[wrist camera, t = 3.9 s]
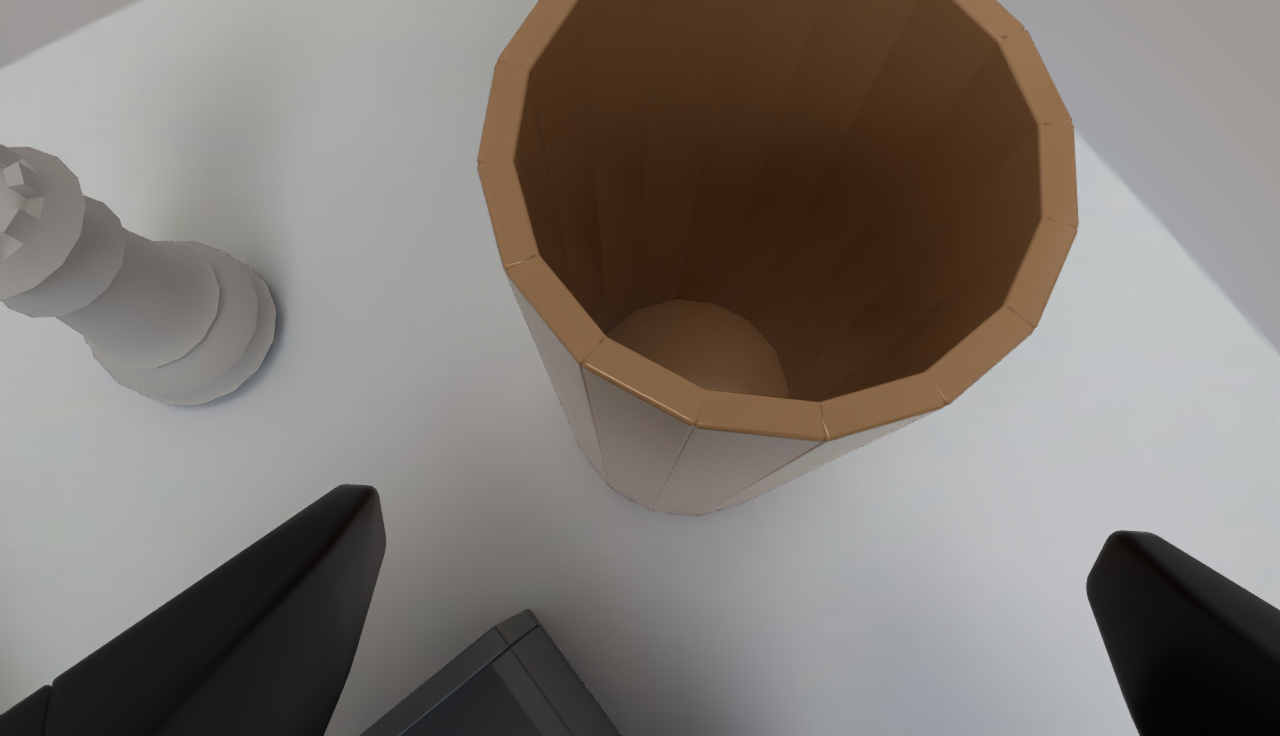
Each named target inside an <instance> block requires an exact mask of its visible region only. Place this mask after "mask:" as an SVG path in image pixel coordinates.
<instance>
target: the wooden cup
mask: <svg viewBox="0 0 1280 736" xmlns="http://www.w3.org/2000/svg"><path fill="white" fill-rule="evenodd" d="M1071 123H1072V119H1071V117H1070V115H1069V113H1068V111H1067V109H1066V107H1065V105H1064V103H1063V101H1062V99H1061V97H1060V95H1059V93H1058V91H1057V88H1056V86H1055V84H1054V82H1053V81H1052V78H1051V77H1050V74H1049V72H1048V71H1047V68H1046V67H1045V64H1044V63H1043V60H1042V59H1041V57H1040V54H1039V53H1038V51H1037V48H1036V46H1035V44H1034V42H1033V41H1032V38H1031V36H1030V34H1029V33H1028V31H1027V30H1024V26H1023V25H1022V24H1021V23H1020V22H1019V21H1018V20H1017V19H1016V18H1015V17H1014V16H1013V15H1011V14H1010V13H1009V12H1008V11H1007V10H1006V9H1005V8H1004V7H1003V6H1002V5H1001V4H1000V3H999V2H997V1H996V0H539V1H538V2H537V4H536V5H535V7H534V8H533V9H532V11H531V12H530V14H529V15H528V17H527V18H526V19H525V21H524V22H523V24H522V25H521V26H520V28H519V29H518V31H517V32H516V33H515V35H514V36H513V38H512V39H511V41H510V42H509V43H508V45H507V46H506V48H505V49H504V50H503V52H502V53H501V55H500V56H499V57H498V61H497V63H496V65H495V68H494V73H493V79H492V84H491V89H490V95H489V100H488V105H487V110H486V116H485V121H484V126H483V132H482V137H481V142H480V147H479V153H478V158H477V162H478V167H477V170H478V173H479V177H480V181H481V185H482V189H483V193H484V197H485V200H486V204H487V208H488V212H489V216H490V220H491V223H492V227H493V231H494V235H495V239H496V243H497V247H498V250H499V254H500V258H501V262H502V266H503V269H504V271H505V274H506V276H507V278H508V281H509V283H510V285H511V288H512V290H513V292H514V295H515V297H516V299H517V302H518V304H519V306H520V309H521V311H522V314H523V316H524V318H525V321H526V323H527V325H528V328H529V330H530V332H531V335H532V337H533V339H534V342H535V344H536V346H537V349H538V351H539V353H540V356H541V358H542V361H543V363H544V365H545V368H546V370H547V372H548V375H549V377H550V379H551V382H552V384H553V386H554V389H555V391H556V393H557V396H558V398H559V400H560V403H561V405H562V408H563V410H564V412H565V415H566V417H567V419H568V422H569V424H570V426H571V429H572V431H573V433H574V436H575V438H576V440H577V443H578V445H579V447H580V449H581V451H582V453H583V454H584V455H585V456H586V458H587V459H588V460H589V462H590V463H591V464H592V466H593V467H594V469H595V470H596V471H597V472H598V474H599V475H600V476H601V477H602V478H603V480H604V481H605V482H606V483H607V485H608V486H610V487H611V488H612V489H614V490H616V491H617V492H619V493H620V494H622V495H624V496H625V497H627V498H628V499H630V500H632V501H634V502H636V503H638V504H640V505H642V506H644V507H646V508H648V509H650V510H651V509H652V510H653V511H660V512H666V513H671V514H684V515H696V516H698V515H704V514H707V513H710V512H714V511H718V510H722V509H724V508H727V507H731V506H734V505H737V504H741V503H744V502H746V501H748V500H750V499H752V498H754V497H756V496H758V495H761V494H763V493H765V492H767V491H769V490H771V489H773V488H775V487H778V486H780V485H782V484H784V483H786V482H788V481H790V480H792V479H794V478H797V477H799V476H801V475H803V474H805V473H807V472H809V471H811V470H813V469H816V468H818V467H820V466H822V465H824V464H826V463H828V462H830V461H832V460H835V459H837V458H839V457H841V456H843V455H845V454H847V453H849V452H852V451H854V450H856V449H858V448H860V447H862V446H864V445H866V444H868V443H871V442H873V441H875V440H877V439H879V438H881V437H883V436H885V435H887V434H890V433H892V432H894V431H896V430H898V429H900V428H902V427H904V426H906V425H909V424H911V423H913V422H915V421H917V420H919V419H921V418H923V417H925V416H928V415H930V414H932V413H934V412H936V411H938V410H940V409H942V408H943V407H945V406H948V405H950V404H951V403H952V402H953V401H954V400H956V399H957V398H958V397H959V396H960V395H961V394H963V393H964V392H965V391H966V390H967V389H968V388H969V387H971V386H972V385H973V384H974V383H975V382H976V381H978V380H979V379H980V378H981V377H982V376H983V375H985V374H986V373H987V372H988V371H989V370H990V369H992V368H993V367H994V366H995V365H996V364H997V363H998V362H1000V361H1001V360H1002V359H1003V358H1004V357H1005V356H1007V355H1008V354H1009V353H1010V352H1011V351H1012V350H1014V349H1015V348H1016V347H1017V346H1018V345H1019V344H1020V343H1022V342H1023V341H1024V340H1025V339H1026V338H1027V337H1029V336H1030V335H1031V334H1032V332H1033V330H1034V329H1035V328H1036V327H1037V326H1038V323H1039V321H1040V319H1041V316H1042V314H1043V312H1044V309H1045V307H1046V304H1047V302H1048V300H1049V297H1050V295H1051V293H1052V290H1053V288H1054V286H1055V283H1056V281H1057V279H1058V276H1059V274H1060V272H1061V269H1062V267H1063V265H1064V262H1065V260H1066V258H1067V255H1068V253H1069V250H1070V248H1071V246H1072V243H1073V241H1074V239H1075V236H1076V234H1077V227H1078V224H1079V223H1078V203H1077V183H1076V163H1075V143H1074V126H1073V124H1071Z"/></svg>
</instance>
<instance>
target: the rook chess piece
mask: <svg viewBox="0 0 1280 736" xmlns="http://www.w3.org/2000/svg"><path fill="white" fill-rule="evenodd" d="M0 301H2V302H3V303H4V304H5V305H6V306H7V307H8V308H9V309H12V310H14V311H17V312H19V313H22V314H25V315H27V316H30V317H56V318H57V319H59V320H60V321H62V322H63V323H65V324H66V325H68V326H70V327H71V328H73V329H74V330H76V331H77V332H79V333H81V334H82V335H84V339H85V342H86V343H87V344H88V345H89V346H90V347H91V349H92V352H93V356H94V358H95V359H96V360H97V361H98V362H99V363H100V364H101V365H102V366H103V367H104V369H105V370H106V371H107V372H108V373H109V374H110V375H111V376H112V377H113V378H114V379H115V380H116V381H117V382H118V383H119V384H120V385H122V386H125V387H127V388H130V389H133V390H135V391H138V392H139V393H140V394H141V395H143V396H146V397H149V398H151V399H154V400H156V401H159V402H162V403H164V404H167V405H169V406H170V405H201V404H204V403H207V402H209V401H212V400H214V399H217V398H219V397H221V396H224V395H226V394H229V393H231V392H234V391H235V390H236V389H237V388H238V387H239V386H240V385H241V384H242V383H244V382H245V381H246V380H247V379H248V378H249V377H250V376H251V375H252V374H254V373H255V372H256V371H257V370H258V369H259V367H260V365H261V363H262V362H263V360H264V358H265V356H266V354H267V352H268V350H269V348H270V346H271V344H272V343H273V341H274V331H275V321H276V308H275V305H274V302H273V300H272V297H271V294H270V291H269V288H268V285H267V284H266V283H265V282H264V281H263V280H262V279H261V278H260V277H259V276H258V275H257V274H256V273H255V272H254V271H253V270H252V269H251V268H250V267H249V266H248V265H247V264H244V263H242V262H239V261H236V260H235V259H234V258H233V257H232V256H231V255H230V254H228V253H225V252H222V251H220V250H217V249H214V248H212V247H209V246H206V245H203V244H200V243H196V242H192V241H189V242H173V241H158V242H153V241H151V240H148V239H146V238H144V237H141V236H139V235H137V234H135V233H132V232H130V231H128V230H127V229H125V228H123V227H122V226H121V223H120V219H119V218H118V217H117V216H116V215H115V214H114V213H113V212H112V211H111V210H110V209H109V208H108V207H107V206H106V205H105V204H104V203H103V202H100V201H97V200H95V199H92V198H89V197H87V196H84V195H82V191H81V188H80V184H79V181H78V178H77V177H76V176H75V175H74V174H73V172H72V171H71V170H70V169H69V168H68V167H67V166H66V165H65V164H64V163H63V162H62V161H61V160H60V159H59V158H58V157H55V156H53V155H50V154H47V153H44V152H42V151H39V150H36V149H33V148H31V147H5V146H4V145H2V144H0Z"/></svg>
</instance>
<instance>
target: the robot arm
mask: <svg viewBox="0 0 1280 736" xmlns="http://www.w3.org/2000/svg"><path fill="white" fill-rule="evenodd" d="M385 547H386V534H385V528H384V522H383V516H382V510H381V504H380V499H379V494H378V492H377V490H376V489H375V488H374V487H372V486H368V485H351V484H344V485H340V486H338V487H336V488H334V489H333V490H331V491H330V492H329V493H327V494H326V495H324V496H323V497H321V498H320V499H318V500H317V501H315V502H314V503H312V504H311V505H309V506H308V507H306V508H305V509H304V510H302V511H301V512H299V513H298V514H296V515H295V516H293V517H292V518H290V519H289V520H287V521H286V522H284V523H283V524H281V525H280V526H279V527H277V528H276V529H274V530H273V531H271V532H270V533H268V534H267V535H265V536H264V537H262V538H261V539H259V540H258V541H256V542H255V543H254V544H252V545H251V546H249V547H248V548H246V549H245V550H243V551H242V552H240V553H239V554H237V555H236V556H234V557H233V558H231V559H230V560H229V561H227V562H226V563H224V564H223V565H221V566H220V567H218V568H217V569H215V570H214V571H212V572H211V573H209V574H208V575H206V576H205V577H204V578H202V579H201V580H199V581H198V582H196V583H195V584H193V585H192V586H190V587H189V588H187V589H186V590H184V591H183V592H181V593H180V594H179V595H177V596H176V597H174V598H173V599H171V600H170V601H168V602H167V603H165V604H164V605H162V606H161V607H159V608H158V609H157V610H155V611H154V612H152V613H151V614H149V615H148V616H146V617H145V618H143V619H142V620H140V621H139V622H137V623H136V624H134V625H133V626H132V627H130V628H129V629H127V630H126V631H124V632H123V633H121V634H120V635H118V636H117V637H115V638H114V639H112V640H111V641H109V642H108V643H107V644H105V645H104V646H102V647H101V648H99V649H98V650H96V651H95V652H93V653H92V654H90V655H89V656H87V657H86V658H84V659H83V660H82V661H80V662H79V663H77V664H76V665H74V666H73V667H71V668H70V669H68V670H67V671H65V672H64V673H62V674H61V675H59V676H58V677H57V678H55V679H54V681H53V683H52V686H50V685H45V686H43V687H41V688H40V689H38V690H37V691H36V692H34V693H33V694H31V695H30V696H28V697H27V698H25V699H24V700H22V701H21V702H19V703H18V704H16V705H15V706H13V707H12V708H11V709H9V710H8V711H6V712H5V713H3V714H2V715H0V736H324V733H325V731H326V729H327V726H328V724H329V721H330V719H331V717H332V714H333V712H334V709H335V707H336V705H337V702H338V700H339V697H340V695H341V693H342V690H343V688H344V685H345V682H346V680H347V677H348V675H349V672H350V669H351V666H352V663H353V660H354V657H355V653H356V650H357V647H358V643H359V640H360V636H361V633H362V630H363V626H364V623H365V619H366V616H367V612H368V609H369V605H370V602H371V599H372V595H373V592H374V588H375V585H376V581H377V578H378V574H379V571H380V568H381V564H382V561H383V557H384V553H385ZM1086 590H1087V596H1088V600H1089V603H1090V605H1091V608H1092V611H1093V614H1094V616H1095V619H1096V622H1097V625H1098V627H1099V630H1100V633H1101V636H1102V639H1103V641H1104V644H1105V647H1106V650H1107V652H1108V655H1109V658H1110V661H1111V664H1112V666H1113V669H1114V672H1115V675H1116V677H1117V680H1118V683H1119V686H1120V688H1121V691H1122V694H1123V697H1124V699H1125V702H1126V704H1127V707H1128V709H1129V712H1130V714H1131V717H1132V719H1133V721H1134V724H1135V726H1136V728H1137V730H1138V733H1139V735H1140V736H1280V610H1278V609H1277V608H1275V607H1274V606H1272V605H1270V604H1269V603H1267V602H1265V601H1264V600H1262V599H1260V598H1259V597H1257V596H1255V595H1254V594H1252V593H1251V592H1249V591H1247V590H1246V589H1244V588H1242V587H1241V586H1239V585H1237V584H1236V583H1234V582H1233V581H1231V580H1229V579H1228V578H1226V577H1224V576H1223V575H1221V574H1219V573H1218V572H1216V571H1214V570H1213V569H1211V568H1210V567H1208V566H1206V565H1205V564H1203V563H1201V562H1200V561H1198V560H1196V559H1195V558H1193V557H1192V556H1190V555H1188V554H1187V553H1185V552H1183V551H1182V550H1180V549H1178V548H1177V547H1175V546H1174V545H1172V544H1170V543H1169V542H1167V541H1165V540H1164V539H1162V538H1160V537H1159V536H1157V535H1155V534H1152V533H1149V532H1140V531H1123V530H1121V531H1116V532H1114V533H1113V534H1111V535H1110V536H1109V537H1108V539H1107V540H1106V542H1105V544H1104V546H1103V548H1102V550H1101V552H1100V554H1099V556H1098V558H1097V560H1096V562H1095V563H1094V565H1093V567H1092V569H1091V571H1090V573H1089V575H1088V578H1087V583H1086Z"/></svg>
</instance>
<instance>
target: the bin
mask: <svg viewBox="0 0 1280 736" xmlns="http://www.w3.org/2000/svg"><path fill="white" fill-rule="evenodd" d="M359 736H621V734H620V733H619V732H618V730H617V729H616V728H615V726H614V725H613V723H612V722H611V721H610V719H609V718H608V717H607V715H606V714H605V712H604V711H603V710H602V708H601V707H600V705H599V704H598V703H597V701H596V700H595V699H594V697H593V696H592V694H591V693H590V692H589V690H588V689H587V688H586V686H585V685H584V683H583V682H582V681H581V679H580V678H579V677H578V675H577V674H576V672H575V671H574V670H573V668H572V667H571V666H570V664H569V663H568V661H567V660H566V659H565V657H564V656H563V655H562V653H561V652H560V650H559V649H558V648H557V646H556V645H555V644H554V642H553V641H552V639H551V638H550V637H549V635H548V634H547V633H546V631H545V630H544V628H543V627H542V626H541V624H540V623H539V622H538V620H537V619H536V617H535V616H534V615H533V613H532V612H531V611H530V609H527V610H525V611H523V612H521V613H519V614H517V615H515V616H513V617H511V618H509V619H507V620H505V621H503V622H502V623H500V624H498V625H496V626H494V627H492V628H491V629H490V630H489V631H487V632H486V633H485V634H484V635H482V636H481V637H480V638H479V639H478V640H476V641H475V642H474V643H473V644H471V645H470V646H469V647H468V648H466V649H465V650H464V651H463V652H462V653H460V654H459V655H458V656H457V657H455V658H454V659H453V660H452V661H450V662H449V663H448V664H447V665H446V666H444V667H443V668H442V669H441V670H439V671H438V672H437V673H436V674H434V675H433V676H432V677H431V678H430V679H428V680H427V681H426V682H425V683H423V684H422V685H421V686H420V687H418V688H417V689H416V690H415V691H414V692H412V693H411V694H410V695H409V696H407V697H406V698H405V699H404V700H402V701H401V702H400V703H399V704H398V705H396V706H395V707H394V708H393V709H391V710H390V711H389V712H388V713H387V714H385V715H384V716H383V717H382V718H380V719H379V720H378V721H377V722H375V723H374V724H373V725H372V726H371V727H369V728H368V729H367V730H366V731H364V732H363V733H362V734H361V735H359Z"/></svg>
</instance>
